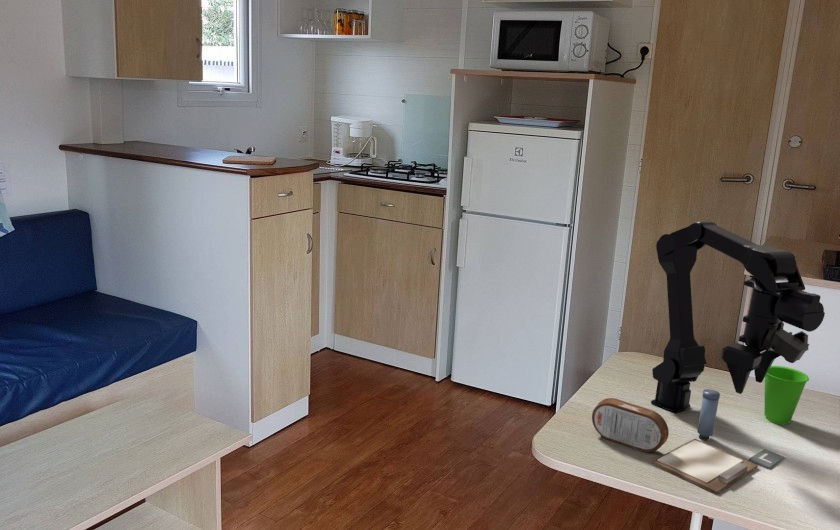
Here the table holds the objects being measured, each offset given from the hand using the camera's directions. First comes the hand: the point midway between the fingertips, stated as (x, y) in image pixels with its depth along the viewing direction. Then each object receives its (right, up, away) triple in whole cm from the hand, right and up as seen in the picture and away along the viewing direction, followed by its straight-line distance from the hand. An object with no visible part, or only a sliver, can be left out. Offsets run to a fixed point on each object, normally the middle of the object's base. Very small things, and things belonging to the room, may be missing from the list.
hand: (749, 387), depth 144 cm
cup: (+14, -10, +16) cm, 23 cm away
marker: (-7, -11, +5) cm, 14 cm away
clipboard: (-12, -14, -7) cm, 19 cm away
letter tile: (+2, -14, -3) cm, 14 cm away
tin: (-24, -12, 0) cm, 27 cm away
